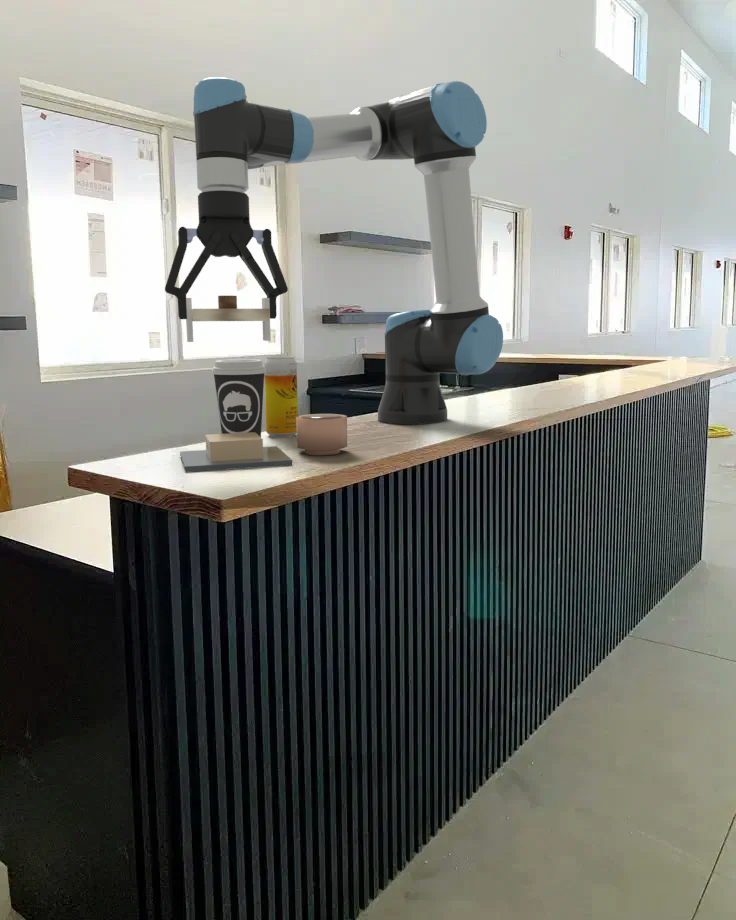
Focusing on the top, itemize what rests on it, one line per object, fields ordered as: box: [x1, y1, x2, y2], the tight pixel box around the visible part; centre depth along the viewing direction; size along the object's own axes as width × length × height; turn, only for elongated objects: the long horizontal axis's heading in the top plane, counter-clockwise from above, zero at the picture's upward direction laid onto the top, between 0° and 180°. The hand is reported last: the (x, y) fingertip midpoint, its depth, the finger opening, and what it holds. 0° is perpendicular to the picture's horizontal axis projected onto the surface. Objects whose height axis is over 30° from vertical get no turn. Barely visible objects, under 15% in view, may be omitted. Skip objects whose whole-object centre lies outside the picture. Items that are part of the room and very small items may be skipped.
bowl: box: [296, 413, 348, 456], centre depth 131 cm, size 8×8×6 cm
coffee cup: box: [210, 358, 267, 438], centre depth 137 cm, size 10×10×15 cm
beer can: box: [263, 355, 299, 439], centre depth 149 cm, size 6×6×15 cm
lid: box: [192, 295, 271, 322], centre depth 120 cm, size 11×11×4 cm
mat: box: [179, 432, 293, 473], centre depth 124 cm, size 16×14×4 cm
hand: (229, 341), depth 121 cm, fingers closed on lid, 11 cm apart
